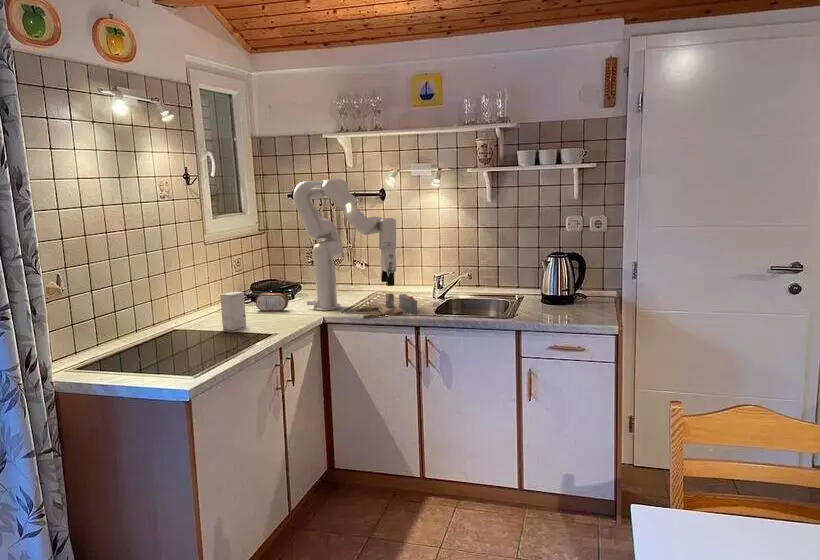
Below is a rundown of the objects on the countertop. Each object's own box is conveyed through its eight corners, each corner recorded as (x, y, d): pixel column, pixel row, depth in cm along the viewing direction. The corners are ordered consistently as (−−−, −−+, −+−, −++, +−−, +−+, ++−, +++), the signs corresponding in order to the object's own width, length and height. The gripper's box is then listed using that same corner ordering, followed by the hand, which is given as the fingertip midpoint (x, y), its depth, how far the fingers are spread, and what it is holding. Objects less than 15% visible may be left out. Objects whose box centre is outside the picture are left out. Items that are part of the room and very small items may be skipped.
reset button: (409, 304, 283) (408, 297, 282) (407, 303, 285) (407, 296, 284) (413, 303, 283) (413, 296, 283) (412, 302, 285) (411, 296, 285)
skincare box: (232, 330, 259) (229, 295, 257) (222, 329, 262) (219, 294, 260) (247, 326, 266) (244, 291, 264) (236, 324, 269) (234, 290, 267)
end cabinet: (410, 314, 279) (410, 301, 278) (399, 307, 296) (399, 294, 295) (417, 314, 280) (417, 300, 279) (405, 306, 297) (405, 293, 296)
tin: (288, 310, 297) (287, 292, 295) (287, 311, 294) (285, 293, 292) (257, 310, 298) (256, 292, 297) (255, 311, 295) (254, 294, 294)
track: (363, 318, 275) (363, 315, 275) (356, 311, 289) (356, 309, 289) (403, 314, 280) (403, 312, 280) (394, 308, 294) (394, 305, 294)
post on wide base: (384, 314, 280) (384, 297, 278) (378, 309, 290) (377, 292, 289) (402, 313, 282) (401, 295, 281) (395, 308, 292) (394, 291, 291)
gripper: (401, 248, 274) (401, 286, 277) (390, 243, 290) (390, 280, 293) (384, 248, 272) (384, 287, 275) (374, 243, 288) (374, 280, 291)
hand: (387, 283), depth 284 cm, fingers open, 9 cm apart
